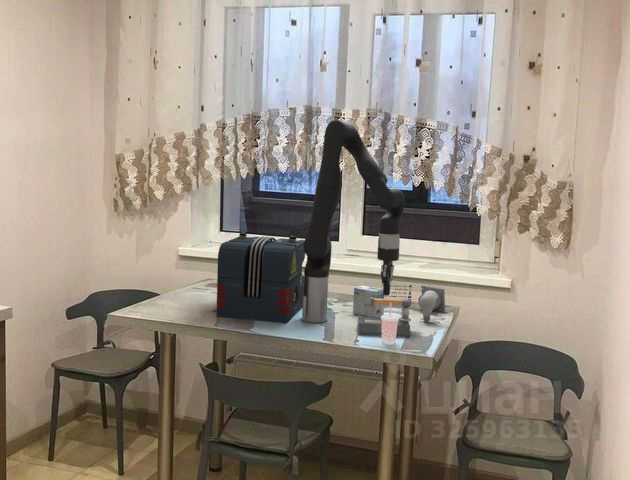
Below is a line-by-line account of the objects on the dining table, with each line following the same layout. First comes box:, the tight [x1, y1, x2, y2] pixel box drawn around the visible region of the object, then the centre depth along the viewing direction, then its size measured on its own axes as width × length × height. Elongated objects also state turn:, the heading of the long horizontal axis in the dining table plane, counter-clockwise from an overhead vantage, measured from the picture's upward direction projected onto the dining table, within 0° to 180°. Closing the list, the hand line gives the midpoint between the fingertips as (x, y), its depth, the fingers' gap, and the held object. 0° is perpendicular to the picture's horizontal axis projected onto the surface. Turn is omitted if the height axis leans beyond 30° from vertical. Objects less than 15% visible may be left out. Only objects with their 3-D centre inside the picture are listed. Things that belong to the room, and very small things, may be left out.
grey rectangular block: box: [356, 306, 412, 338], centre depth 242 cm, size 19×10×9 cm, turn 89°
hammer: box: [370, 297, 412, 307], centre depth 244 cm, size 15×4×2 cm, turn 89°
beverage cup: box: [380, 302, 400, 345], centre depth 229 cm, size 6×6×14 cm
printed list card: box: [381, 284, 446, 312], centre depth 279 cm, size 27×11×10 cm, turn 89°
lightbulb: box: [419, 294, 436, 323], centre depth 259 cm, size 6×6×11 cm
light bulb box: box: [352, 285, 385, 317], centre depth 267 cm, size 11×7×11 cm, turn 56°
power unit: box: [216, 232, 306, 324], centre depth 263 cm, size 28×28×30 cm
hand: (386, 294), depth 238 cm, fingers closed
